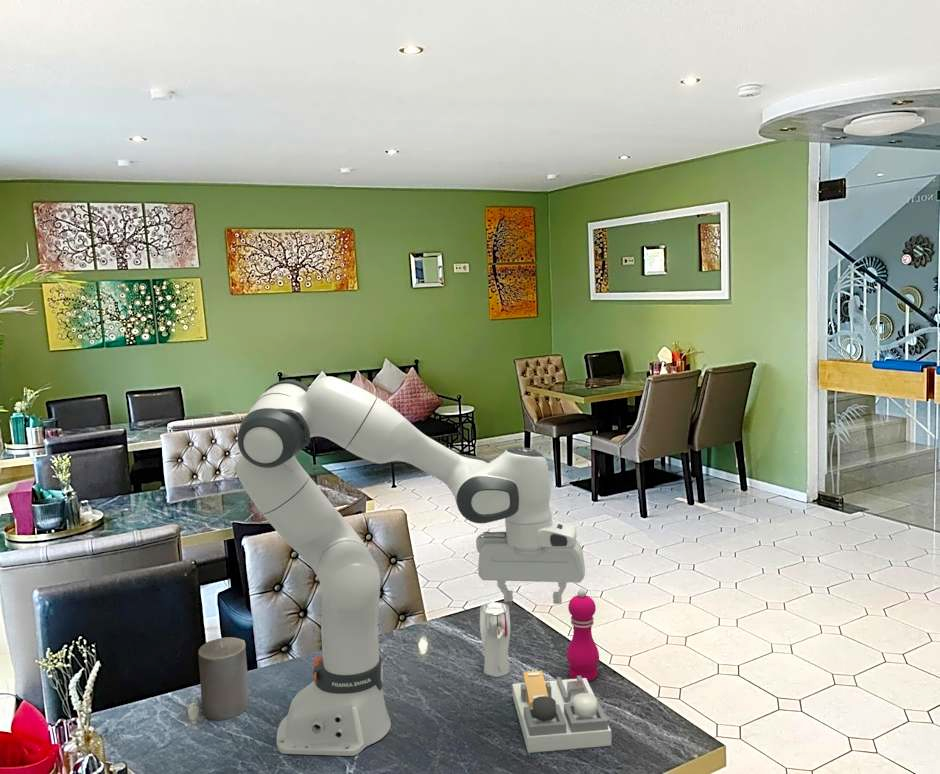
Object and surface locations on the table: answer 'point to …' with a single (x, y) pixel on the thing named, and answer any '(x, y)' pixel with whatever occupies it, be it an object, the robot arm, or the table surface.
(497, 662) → the beer glass
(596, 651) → the pepper mill
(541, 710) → the black button
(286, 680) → the table surface
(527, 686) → the amber rocker
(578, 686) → the metal slider knob
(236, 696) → the pillar candle
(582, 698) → the white button
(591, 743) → the console
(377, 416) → the robot arm
